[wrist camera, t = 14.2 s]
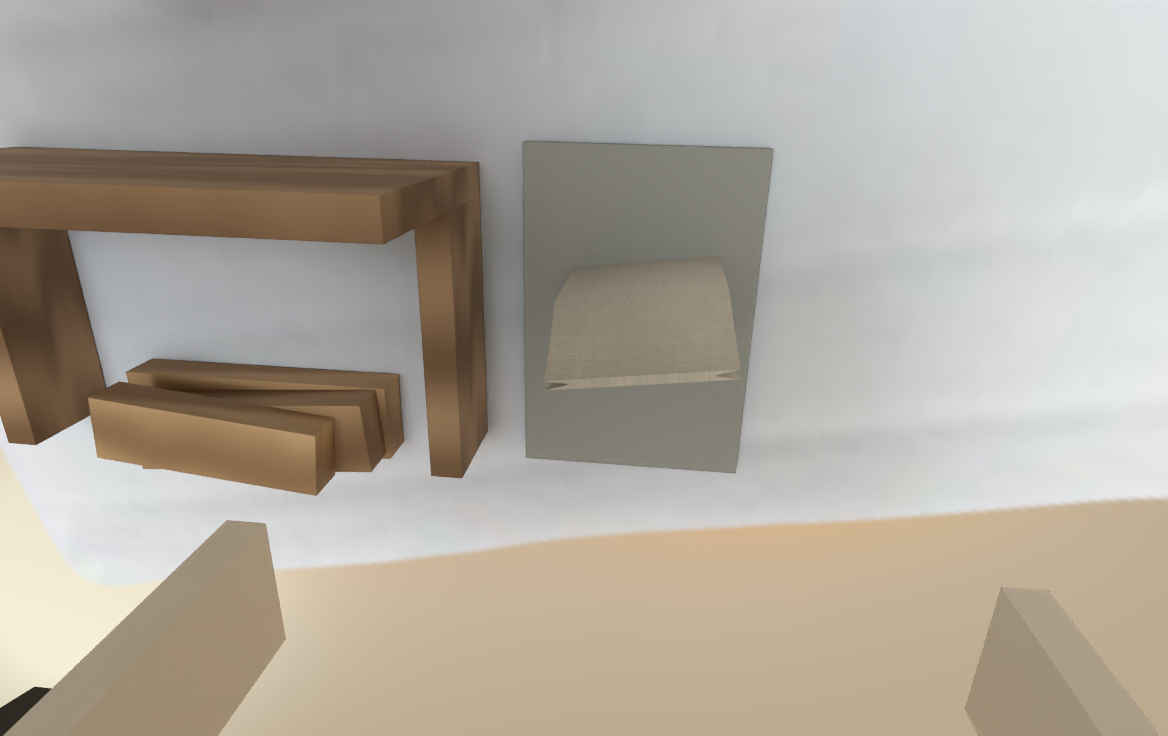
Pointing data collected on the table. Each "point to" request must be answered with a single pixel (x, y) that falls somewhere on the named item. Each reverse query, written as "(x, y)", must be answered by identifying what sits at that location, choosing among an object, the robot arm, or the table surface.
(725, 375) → the tea bag
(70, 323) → the bench
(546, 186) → the mat
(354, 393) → the offcut stack
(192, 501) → the table surface
